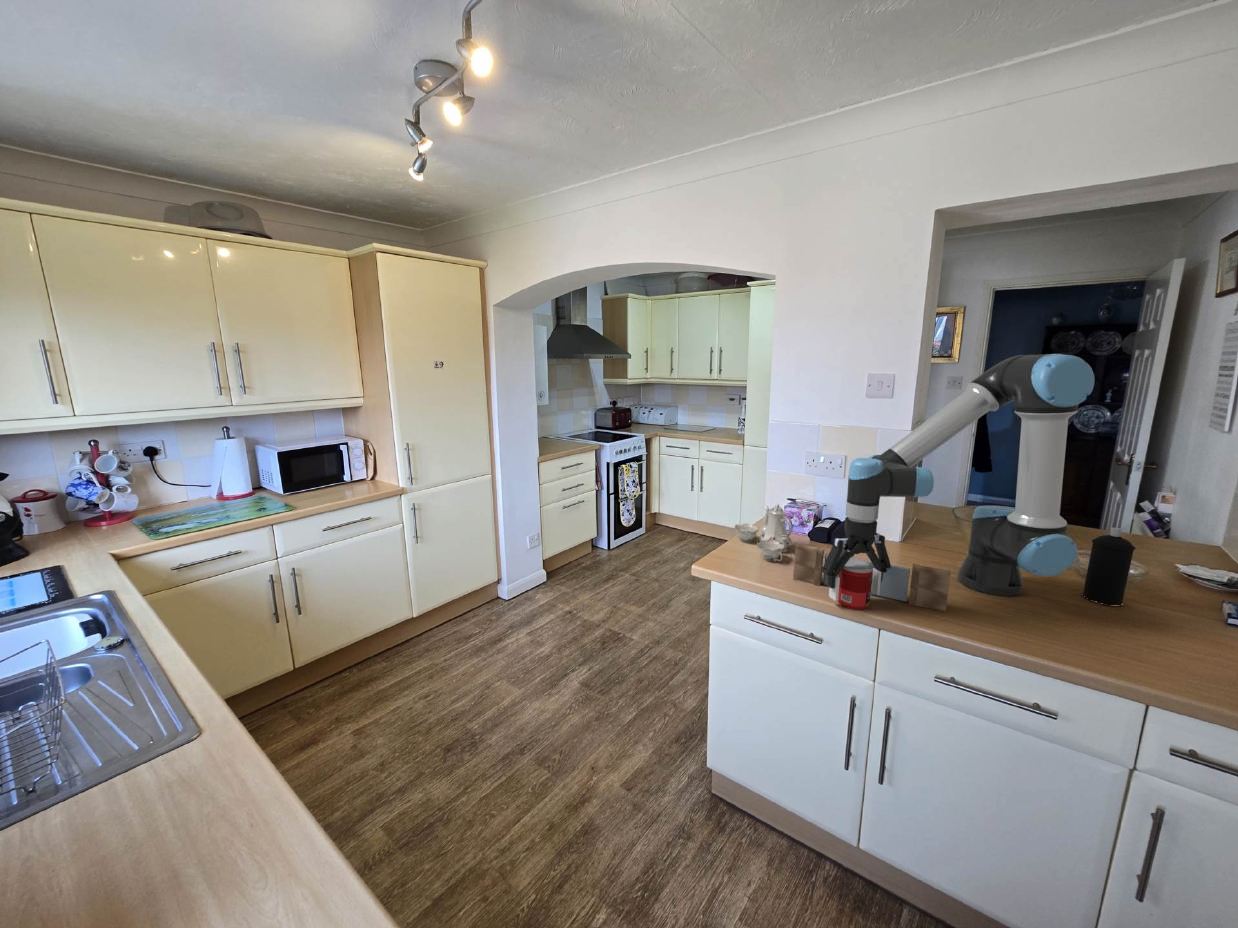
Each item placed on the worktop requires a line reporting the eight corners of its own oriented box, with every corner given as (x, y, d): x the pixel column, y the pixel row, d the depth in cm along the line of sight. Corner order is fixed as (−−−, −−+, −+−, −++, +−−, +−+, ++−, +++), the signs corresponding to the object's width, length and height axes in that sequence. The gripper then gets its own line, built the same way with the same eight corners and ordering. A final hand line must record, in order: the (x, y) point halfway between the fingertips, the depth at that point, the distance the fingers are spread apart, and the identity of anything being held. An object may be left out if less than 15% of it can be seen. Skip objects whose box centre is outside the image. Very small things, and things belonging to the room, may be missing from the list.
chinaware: (726, 542, 183) (723, 499, 179) (766, 533, 187) (764, 491, 183) (770, 572, 156) (768, 523, 153) (815, 560, 161) (814, 512, 157)
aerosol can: (1109, 608, 128) (1124, 535, 124) (1073, 594, 136) (1086, 525, 132) (1131, 604, 131) (1147, 532, 127) (1094, 590, 138) (1108, 522, 134)
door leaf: (906, 599, 134) (910, 567, 132) (906, 601, 132) (910, 570, 130) (823, 581, 145) (825, 552, 143) (822, 584, 143) (824, 554, 141)
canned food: (873, 611, 128) (877, 571, 126) (840, 608, 130) (843, 569, 128) (864, 597, 136) (868, 560, 133) (833, 595, 137) (836, 558, 135)
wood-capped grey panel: (945, 607, 130) (950, 570, 128) (945, 612, 127) (950, 574, 125) (795, 576, 149) (797, 543, 147) (792, 580, 147) (795, 546, 145)
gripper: (890, 510, 134) (882, 584, 139) (810, 517, 129) (805, 594, 133) (912, 518, 127) (903, 596, 131) (829, 527, 122) (822, 607, 126)
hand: (854, 595), depth 132 cm, fingers open, 12 cm apart
